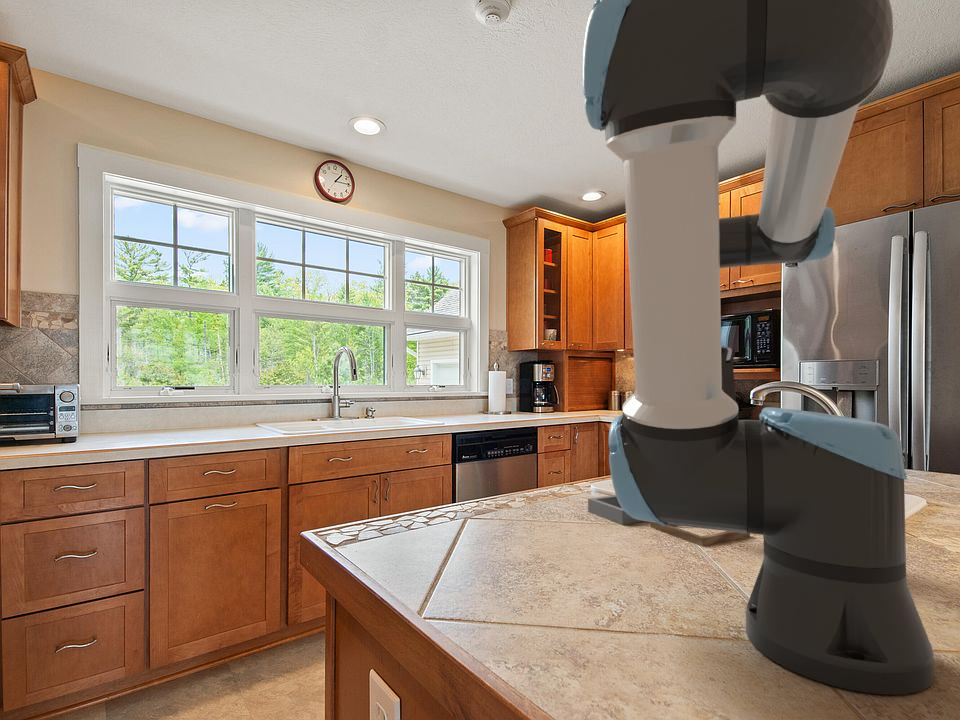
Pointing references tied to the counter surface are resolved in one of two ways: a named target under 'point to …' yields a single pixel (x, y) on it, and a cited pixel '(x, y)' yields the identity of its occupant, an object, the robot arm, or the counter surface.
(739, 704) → the counter surface
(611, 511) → the grey shallow tray
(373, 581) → the counter surface
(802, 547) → the robot arm
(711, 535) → the walnut frame
